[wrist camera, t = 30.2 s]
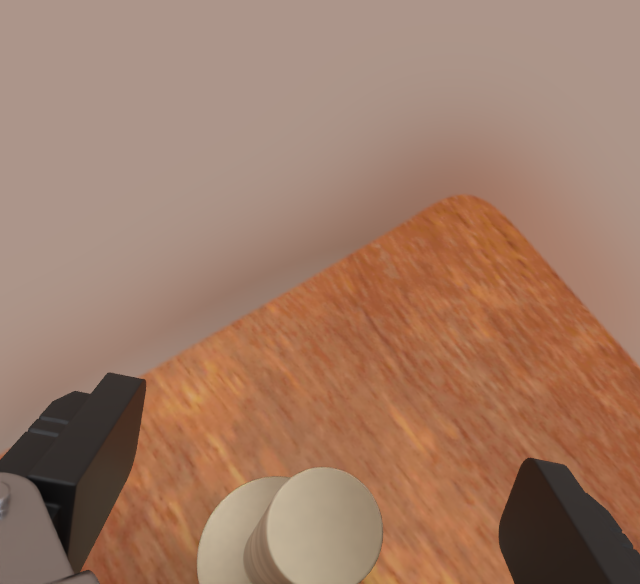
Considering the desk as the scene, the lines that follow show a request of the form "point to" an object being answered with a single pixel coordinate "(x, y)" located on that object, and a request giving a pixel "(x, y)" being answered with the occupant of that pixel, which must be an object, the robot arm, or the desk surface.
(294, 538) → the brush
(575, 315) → the desk surface
